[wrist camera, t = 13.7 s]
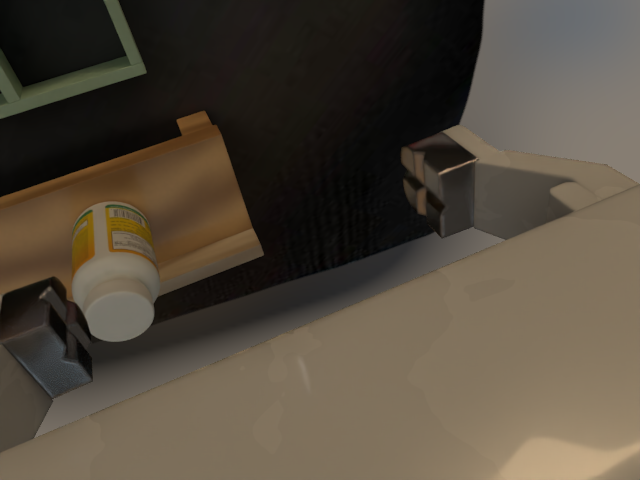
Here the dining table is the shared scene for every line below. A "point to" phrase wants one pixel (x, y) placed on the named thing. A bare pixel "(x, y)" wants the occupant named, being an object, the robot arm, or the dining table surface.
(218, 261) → the windowsill ledge
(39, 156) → the dining table surface
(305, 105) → the dining table surface
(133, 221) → the supplement bottle
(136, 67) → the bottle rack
